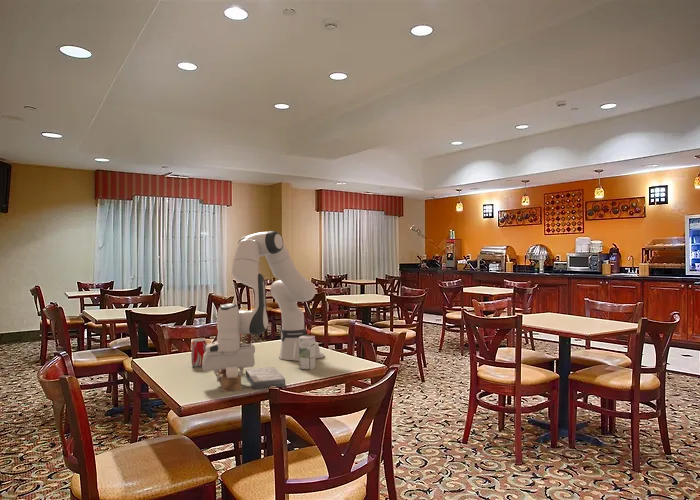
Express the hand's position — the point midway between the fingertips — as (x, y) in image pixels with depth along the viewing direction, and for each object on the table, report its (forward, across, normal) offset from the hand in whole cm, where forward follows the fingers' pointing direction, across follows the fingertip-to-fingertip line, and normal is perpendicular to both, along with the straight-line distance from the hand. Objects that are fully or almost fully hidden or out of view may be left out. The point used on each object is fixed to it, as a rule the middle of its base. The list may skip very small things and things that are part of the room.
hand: (228, 380), depth 193 cm
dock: (+2, -14, +1) cm, 14 cm away
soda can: (+2, +9, -40) cm, 41 cm away
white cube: (-2, -1, +6) cm, 6 cm away
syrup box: (+2, -36, -14) cm, 39 cm away
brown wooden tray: (+2, 0, 0) cm, 2 cm away
